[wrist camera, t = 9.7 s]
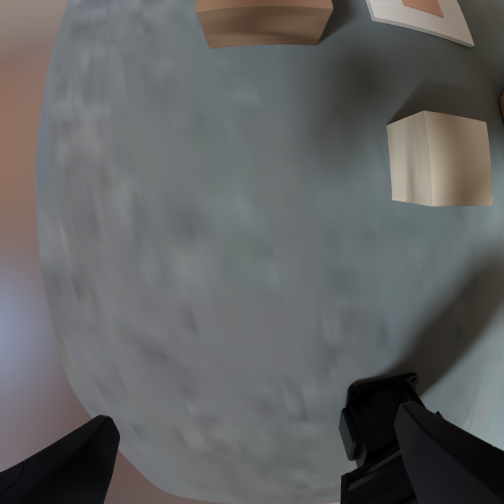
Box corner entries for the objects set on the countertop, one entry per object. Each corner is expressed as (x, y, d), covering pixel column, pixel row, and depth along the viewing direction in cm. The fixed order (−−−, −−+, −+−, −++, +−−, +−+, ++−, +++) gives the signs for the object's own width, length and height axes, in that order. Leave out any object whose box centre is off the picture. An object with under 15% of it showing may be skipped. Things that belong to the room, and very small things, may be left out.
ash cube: (442, 131, 16) (486, 122, 11) (447, 198, 17) (492, 205, 12) (385, 125, 16) (423, 110, 11) (391, 199, 17) (432, 206, 13)
